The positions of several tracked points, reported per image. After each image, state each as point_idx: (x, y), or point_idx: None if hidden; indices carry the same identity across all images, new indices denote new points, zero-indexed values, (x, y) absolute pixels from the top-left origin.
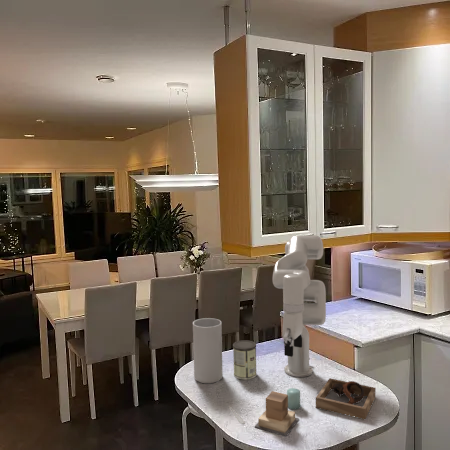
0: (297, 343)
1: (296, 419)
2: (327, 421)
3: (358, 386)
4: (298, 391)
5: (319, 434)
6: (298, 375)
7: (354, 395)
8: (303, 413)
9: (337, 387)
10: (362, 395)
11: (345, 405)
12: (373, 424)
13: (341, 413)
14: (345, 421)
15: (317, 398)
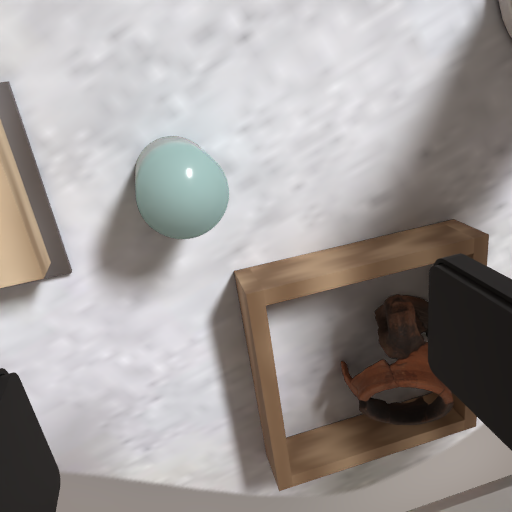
0: (468, 346)
1: (51, 269)
2: (155, 370)
3: (438, 402)
4: (200, 223)
5: (30, 402)
6: (507, 10)
7: (367, 409)
8: (142, 255)
9: (389, 336)
10: (389, 423)
11: (266, 421)
12: (252, 484)
13: (253, 378)
14: (206, 416)
15: (247, 301)
